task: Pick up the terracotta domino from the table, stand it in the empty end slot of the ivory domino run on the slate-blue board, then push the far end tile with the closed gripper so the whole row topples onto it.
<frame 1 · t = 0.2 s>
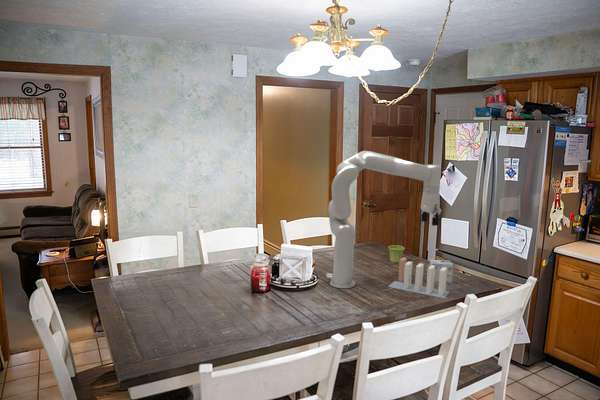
hand: (429, 223, 226), 30 cm above the table, tool pointing down, fingers open, 9 cm apart
domino 3: (418, 289, 216), point 1 cm above the table, touching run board
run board: (418, 291, 216), on the table
domino 2: (429, 291, 213), point 1 cm above the table, touching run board
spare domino: (401, 281, 229), on the table
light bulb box: (440, 282, 231), on the table
domino 1: (441, 293, 211), point 1 cm above the table, touching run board
domino 4: (407, 286, 219), point 1 cm above the table, touching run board
plant pot: (395, 261, 265), on the table
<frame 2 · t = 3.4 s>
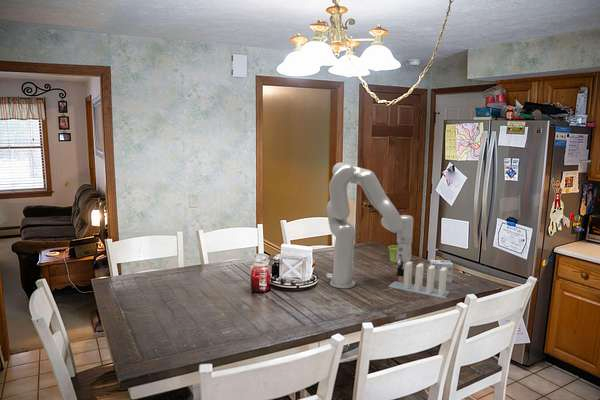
hand: (402, 273, 229), 4 cm above the table, tool pointing down, fingers closed on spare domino, 5 cm apart
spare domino: (401, 281, 229), on the table, touching gripper
everything else where it was.
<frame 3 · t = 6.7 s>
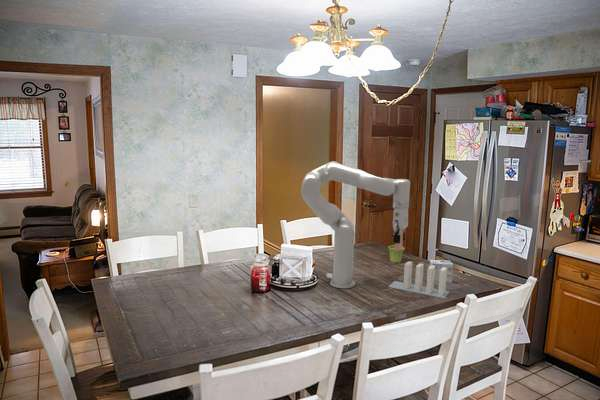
hand: (398, 241, 218), 23 cm above the table, tool pointing down, fingers closed on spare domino, 5 cm apart
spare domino: (398, 249, 219), point 19 cm above the table, touching gripper
everything else where it was.
when the fingers open (6 cm above the table, at t = 10.2 s): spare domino stays where it is, resting on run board.
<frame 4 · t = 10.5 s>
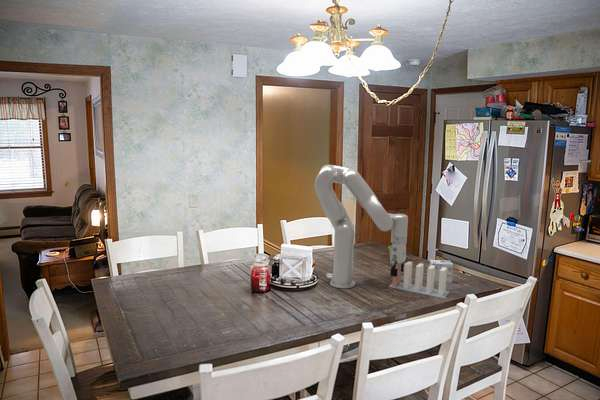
hand: (396, 273, 221), 7 cm above the table, tool pointing down, fingers open, 9 cm apart
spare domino: (396, 284, 221), point 1 cm above the table, touching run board
everything else where it was.
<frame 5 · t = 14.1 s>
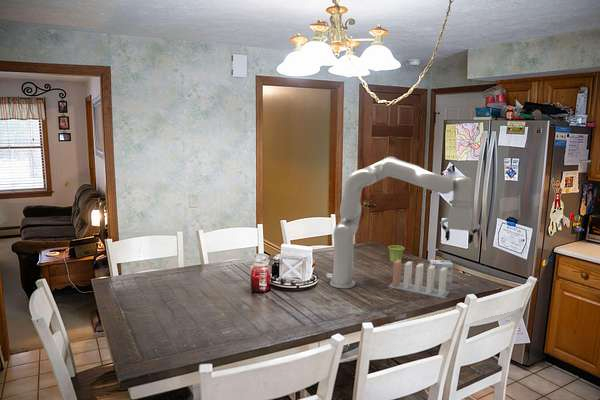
hand: (458, 241, 204), 27 cm above the table, tool pointing down, fingers open, 9 cm apart
nothing on the table moved.
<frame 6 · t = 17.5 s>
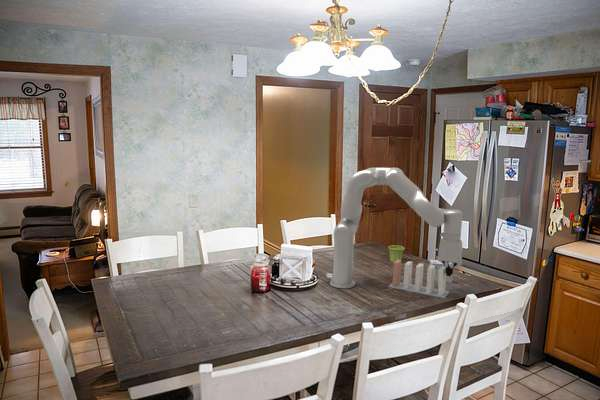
hand: (448, 275, 208), 10 cm above the table, tool pointing down, fingers closed
domino 1: (441, 293, 211), point 1 cm above the table, touching gripper, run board
everything else where it was.
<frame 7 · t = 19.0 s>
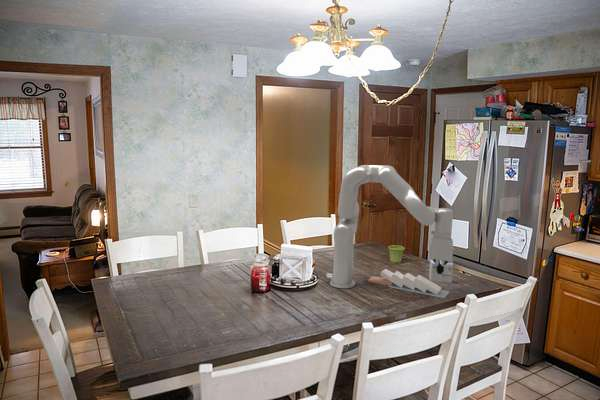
hand: (439, 273, 210), 11 cm above the table, tool pointing down, fingers closed
domino 3: (416, 286, 216), point 2 cm above the table, tilted 69°, touching domino 2, domino 4, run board
domino 2: (427, 289, 214), point 2 cm above the table, tilted 69°, touching domino 1, domino 3
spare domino: (393, 282, 222), point 2 cm above the table, tilted 95°, touching domino 4, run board
domino 1: (439, 291, 211), point 2 cm above the table, tilted 69°, touching domino 2, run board
domino 4: (404, 284, 219), point 2 cm above the table, tilted 69°, touching domino 3, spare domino
everything else where it was.
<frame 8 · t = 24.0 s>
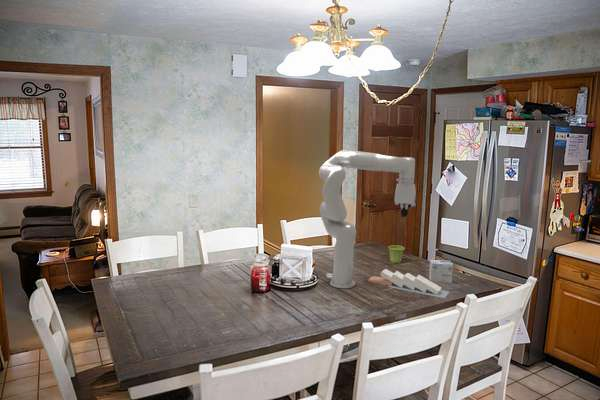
hand: (404, 216, 234), 32 cm above the table, tool pointing down, fingers closed
nothing on the table moved.
at the end: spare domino tilted 95°; domino 1 tilted 69°; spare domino inside the target area (0.1 cm from its centre), point 2.1 cm above the table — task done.
